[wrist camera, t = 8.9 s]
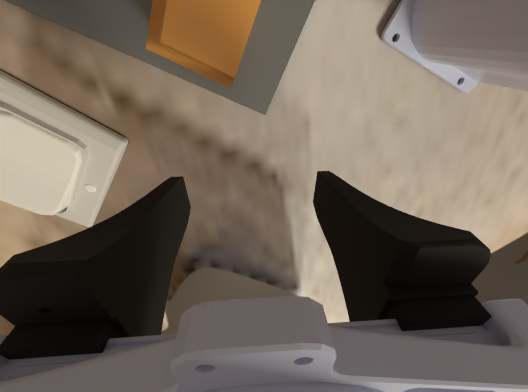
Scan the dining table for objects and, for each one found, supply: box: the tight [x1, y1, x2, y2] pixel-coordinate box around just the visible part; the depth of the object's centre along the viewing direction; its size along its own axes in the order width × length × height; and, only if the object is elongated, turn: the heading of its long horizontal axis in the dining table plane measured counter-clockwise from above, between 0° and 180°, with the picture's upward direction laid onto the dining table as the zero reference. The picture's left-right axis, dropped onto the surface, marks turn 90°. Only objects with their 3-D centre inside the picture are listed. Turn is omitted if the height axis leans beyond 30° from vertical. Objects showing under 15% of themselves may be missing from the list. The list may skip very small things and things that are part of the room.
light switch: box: [0, 70, 128, 227], centre depth 20 cm, size 11×4×13 cm
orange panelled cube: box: [146, 0, 261, 88], centre depth 13 cm, size 5×5×4 cm
